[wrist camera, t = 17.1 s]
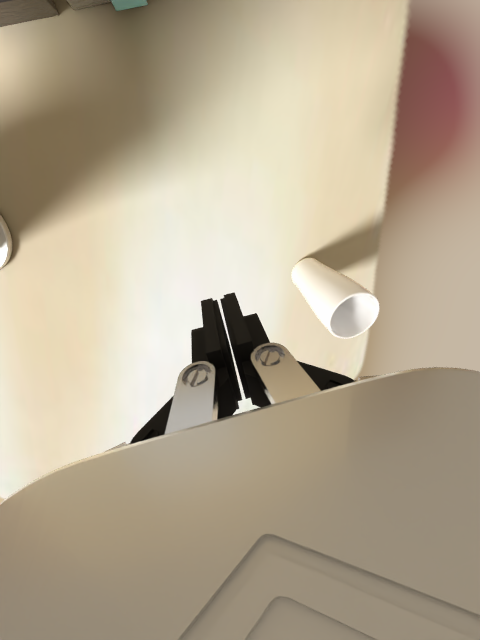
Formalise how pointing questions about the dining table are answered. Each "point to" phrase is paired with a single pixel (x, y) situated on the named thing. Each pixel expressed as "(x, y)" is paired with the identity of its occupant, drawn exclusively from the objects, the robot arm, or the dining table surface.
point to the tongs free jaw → (85, 3)
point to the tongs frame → (25, 10)
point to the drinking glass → (335, 298)
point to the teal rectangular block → (127, 4)
